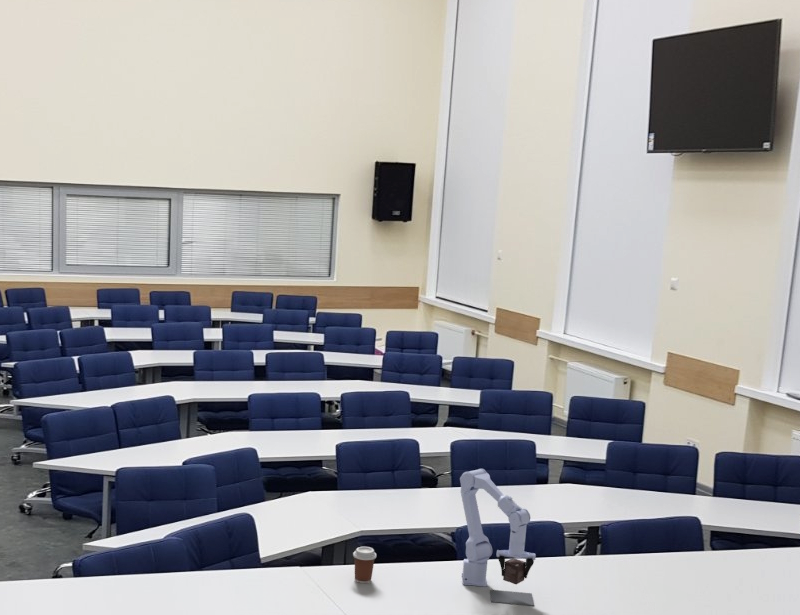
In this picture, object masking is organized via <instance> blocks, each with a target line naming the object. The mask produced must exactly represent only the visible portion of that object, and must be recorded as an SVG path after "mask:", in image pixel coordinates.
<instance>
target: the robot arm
mask: <svg viewBox="0 0 800 615" xmlns="http://www.w3.org/2000/svg"><path fill="white" fill-rule="evenodd" d="M459 482H460V495H461V496H460V497H461V501H462V505H463V510H464V517H465V520H466V526H467V531H468V536H469V537H468V539H467V540H466V542H465V556H466V558H464V559H463V564H462V573H461V580H462V581H461V582H462V585H464V586H465V585H467V586H477V587H484V588H485V587H488V584H487V583H488V582H487V570H488V561H489V559H490V557H491V556H492V554H493V547H492V544H491V543H490V541H489V538H488V537H487V536H486V535H485V534H484V531H483V526H482V522H481V516H480V512H479V506H478V500H477V497H476V494H477V493H478V491H479V490H480V489H481V490H484V491H485V492H486V493H487V494H489V496H490V497H492V498H493V499H494V500H495V501H496V502H497V508H499V509H500V510H501V511H502V512H503V514H505V515H506V516H507V518H508V523H509V526H510V527H509V529H510V533H509V534H510V535H509V544H508V545H509V546H508V549H501V550H499V549H497V550H496V557H497V559H498V562H499V565H500V569H501V577H503V576H504V567H505V562H506V558H511V559H512V558H514V559H525V562H526V567H525V576H524V579H527V578H528V575H529V572H530V571H531V568H532V567H533V565H534V562H535V560H536V557H537V555H536V553H534V552H527V551H525V546H526V534H527V525H528V524H529V523H530V521H531V514H530V512H529V511H528V509H526V508H523V507H521V506H519V505H518V504H517V503H516V502H515V501H514V500H513V497H512V496H509V495H505V494H503V492H502V491H501V490H500V489H499V488H498V487H497V485H496V484H495V483H494V481H492V479H491V476H490V474H489V473H488V472H487V471H486V469H484V468H478V469H475V470H474V469H473V470H470V471H464V472H463V473H462V474H461V475H460V477H459Z"/></svg>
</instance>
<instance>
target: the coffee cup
mask: <svg viewBox="0 0 800 615" xmlns="http://www.w3.org/2000/svg"><path fill="white" fill-rule="evenodd" d="M352 556H353V558H354V581H355V582H357V583H360V584H368V583H371V581H372V576H373V570H374V564H375V559H376V558H377V553H376V552H375V549H374V548H373V547H370V546H360V547H357V548H356V549H355V550H354V552H352Z"/></svg>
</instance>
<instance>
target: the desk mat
mask: <svg viewBox="0 0 800 615" xmlns="http://www.w3.org/2000/svg"><path fill="white" fill-rule="evenodd" d="M489 594H490V602H491V603H499V604H507V605H508V604H509V605H515V606H516V605H518V606H528V607H535V601H534V597H533V594H532V593H530V592H520V591H512V590H511V591H510V590H499V589H489Z"/></svg>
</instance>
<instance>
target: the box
mask: <svg viewBox="0 0 800 615" xmlns="http://www.w3.org/2000/svg"><path fill="white" fill-rule="evenodd" d="M525 567H526V561H525V560H524V561H523V560H520V559H518V558H512V557H511V558H510V559H508V560H505V565H504V576H502V577H503V578H502V580H503V581H504V582H508V583H511V584H513V585H518V584H520V583H522V582H523V581H525V577H524V576H525Z"/></svg>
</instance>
